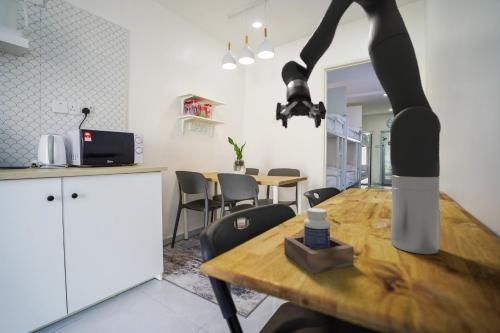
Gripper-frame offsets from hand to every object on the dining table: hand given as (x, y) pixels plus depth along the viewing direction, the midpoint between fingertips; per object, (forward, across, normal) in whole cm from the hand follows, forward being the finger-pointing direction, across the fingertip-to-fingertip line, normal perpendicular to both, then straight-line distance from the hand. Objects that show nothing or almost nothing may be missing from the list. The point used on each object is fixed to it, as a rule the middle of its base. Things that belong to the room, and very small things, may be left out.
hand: (301, 125), depth 62 cm
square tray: (+32, +2, +11) cm, 34 cm away
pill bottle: (+32, +2, +11) cm, 34 cm away
